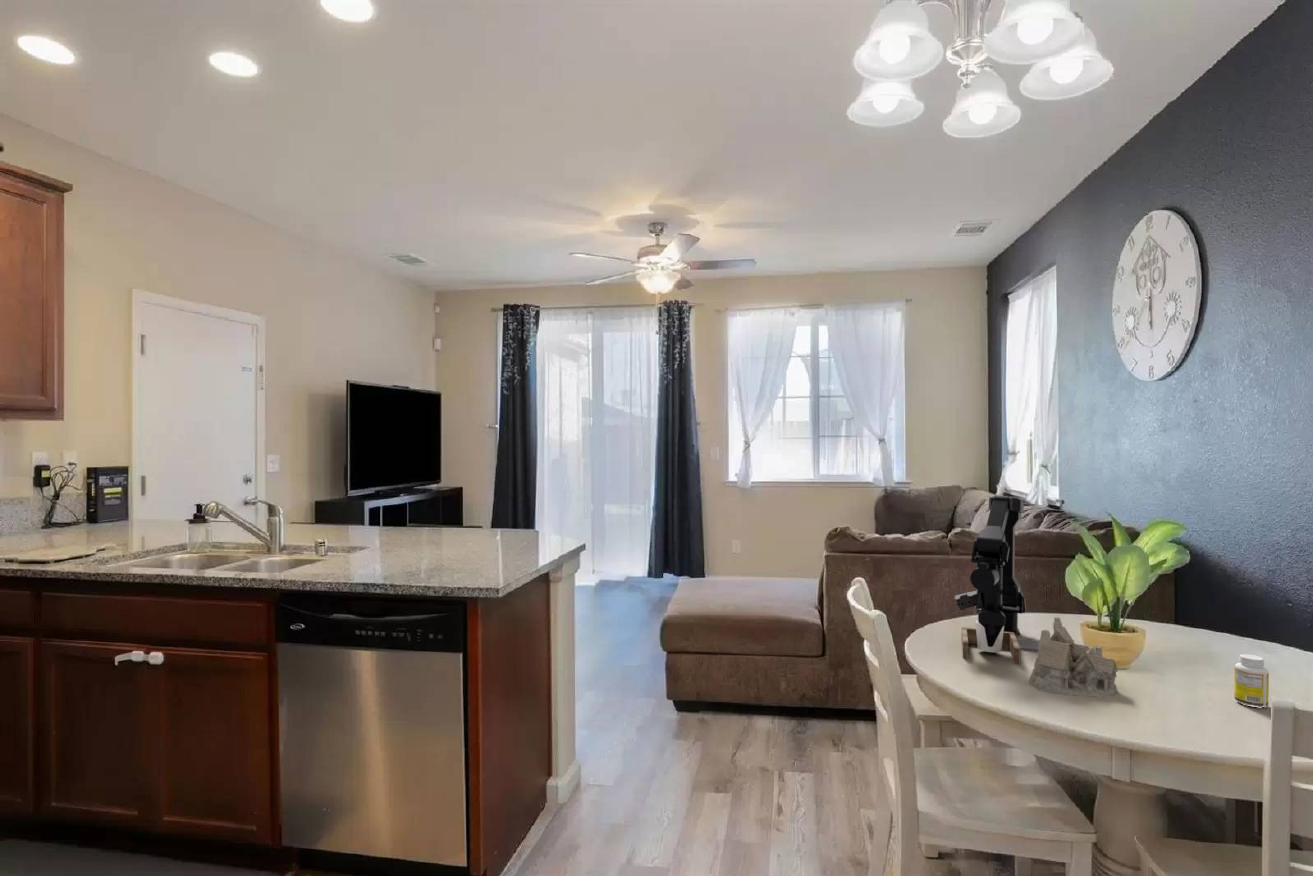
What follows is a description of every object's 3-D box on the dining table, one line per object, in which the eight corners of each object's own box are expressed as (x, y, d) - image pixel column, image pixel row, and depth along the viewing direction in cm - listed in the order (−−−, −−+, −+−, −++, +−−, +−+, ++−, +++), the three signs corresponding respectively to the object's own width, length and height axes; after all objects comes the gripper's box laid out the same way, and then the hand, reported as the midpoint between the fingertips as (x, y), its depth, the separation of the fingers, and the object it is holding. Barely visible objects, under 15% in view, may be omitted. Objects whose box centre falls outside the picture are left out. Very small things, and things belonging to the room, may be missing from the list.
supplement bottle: (1250, 699, 152) (1251, 652, 152) (1275, 709, 147) (1276, 660, 147) (1227, 699, 152) (1228, 653, 152) (1251, 710, 146) (1252, 661, 146)
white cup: (1008, 653, 179) (1009, 626, 179) (982, 653, 179) (982, 626, 179) (996, 645, 186) (996, 619, 186) (970, 644, 186) (970, 618, 186)
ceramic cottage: (1018, 682, 161) (1024, 618, 160) (1054, 672, 170) (1060, 612, 169) (1090, 709, 148) (1097, 640, 147) (1125, 697, 157) (1132, 631, 156)
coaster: (1013, 640, 195) (1013, 638, 195) (1050, 644, 191) (1050, 642, 191) (1016, 649, 186) (1016, 647, 186) (1054, 653, 183) (1054, 651, 183)
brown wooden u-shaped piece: (961, 641, 193) (961, 627, 193) (1013, 647, 188) (1014, 632, 188) (962, 657, 179) (963, 642, 179) (1019, 664, 174) (1019, 648, 174)
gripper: (956, 574, 194) (955, 630, 194) (957, 588, 177) (956, 649, 177) (1000, 578, 190) (999, 635, 190) (1006, 592, 173) (1005, 655, 173)
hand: (989, 643), depth 183 cm, fingers closed on white cup, 6 cm apart
